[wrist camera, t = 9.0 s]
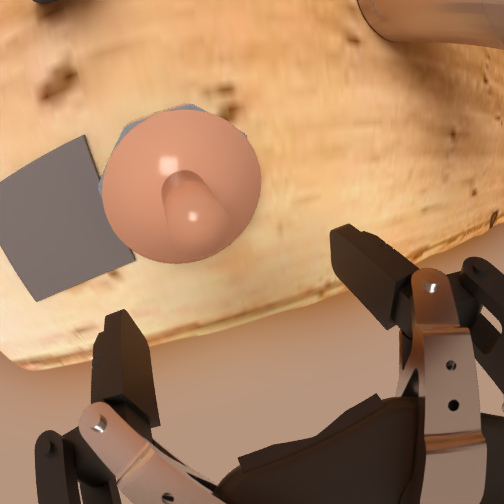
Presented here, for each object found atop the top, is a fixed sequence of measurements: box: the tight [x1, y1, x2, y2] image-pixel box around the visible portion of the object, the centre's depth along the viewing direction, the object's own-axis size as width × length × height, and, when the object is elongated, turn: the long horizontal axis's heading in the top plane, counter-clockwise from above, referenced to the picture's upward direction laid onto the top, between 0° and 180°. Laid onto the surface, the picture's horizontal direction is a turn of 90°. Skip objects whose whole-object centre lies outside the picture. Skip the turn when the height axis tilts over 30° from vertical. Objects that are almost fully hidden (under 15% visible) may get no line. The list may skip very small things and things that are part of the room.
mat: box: [0, 135, 135, 302], centre depth 20 cm, size 12×12×1 cm
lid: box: [102, 109, 261, 264], centre depth 17 cm, size 11×11×7 cm
